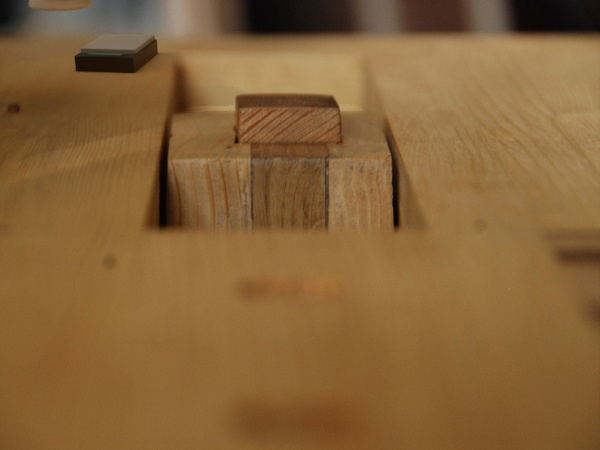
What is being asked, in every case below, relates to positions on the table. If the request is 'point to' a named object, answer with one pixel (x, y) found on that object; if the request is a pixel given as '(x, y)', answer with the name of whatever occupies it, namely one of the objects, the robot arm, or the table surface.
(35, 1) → the jar
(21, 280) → the table surface
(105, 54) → the scale
